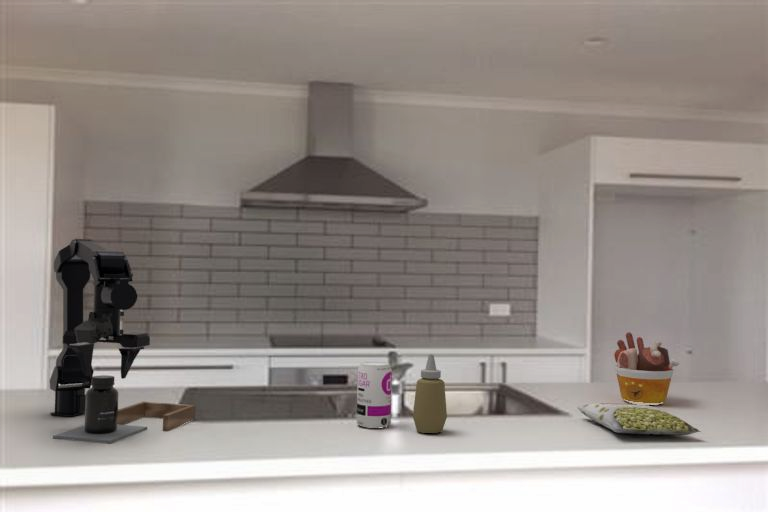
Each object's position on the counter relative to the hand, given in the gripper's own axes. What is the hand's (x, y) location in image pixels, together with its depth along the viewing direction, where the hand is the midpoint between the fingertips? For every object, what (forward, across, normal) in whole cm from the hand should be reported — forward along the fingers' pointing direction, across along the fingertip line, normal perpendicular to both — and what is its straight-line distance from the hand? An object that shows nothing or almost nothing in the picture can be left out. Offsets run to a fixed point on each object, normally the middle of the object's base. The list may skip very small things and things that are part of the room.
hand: (105, 377), depth 164 cm
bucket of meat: (+12, +122, +85) cm, 150 cm away
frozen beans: (+12, +116, +45) cm, 125 cm away
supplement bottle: (+12, 0, -1) cm, 12 cm away
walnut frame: (+12, +5, +12) cm, 18 cm away
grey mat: (+12, 0, -1) cm, 12 cm away
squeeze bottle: (+12, +69, +25) cm, 75 cm away
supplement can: (+12, +55, +27) cm, 63 cm away
